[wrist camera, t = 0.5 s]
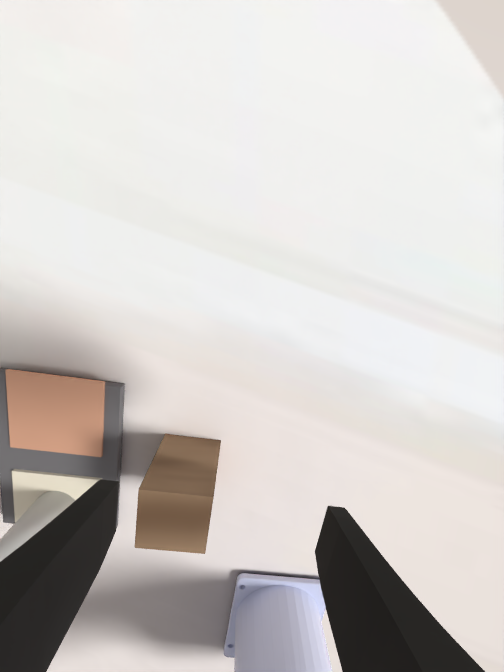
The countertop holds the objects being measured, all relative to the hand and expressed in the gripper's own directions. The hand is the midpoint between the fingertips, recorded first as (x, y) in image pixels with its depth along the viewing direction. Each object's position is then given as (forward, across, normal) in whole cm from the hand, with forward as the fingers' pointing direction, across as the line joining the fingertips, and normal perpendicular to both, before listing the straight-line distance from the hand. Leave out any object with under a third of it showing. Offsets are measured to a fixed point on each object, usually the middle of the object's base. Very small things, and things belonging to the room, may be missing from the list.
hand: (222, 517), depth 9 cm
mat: (+10, +11, +6) cm, 16 cm away
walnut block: (+10, +2, +6) cm, 11 cm away
